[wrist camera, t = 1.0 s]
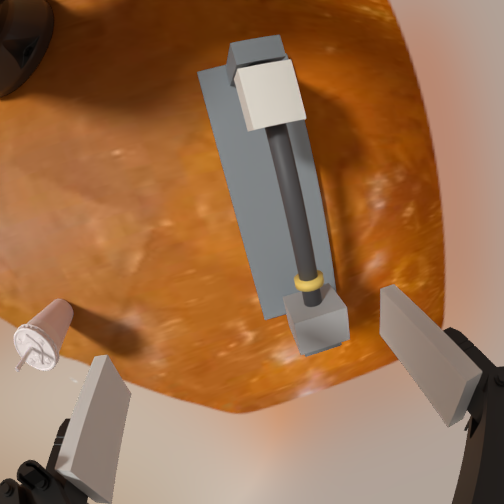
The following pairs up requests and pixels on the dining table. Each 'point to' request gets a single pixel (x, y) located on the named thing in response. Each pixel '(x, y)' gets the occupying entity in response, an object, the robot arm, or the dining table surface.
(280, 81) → the sleeve
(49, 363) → the smoothie
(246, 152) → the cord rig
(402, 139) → the dining table surface
